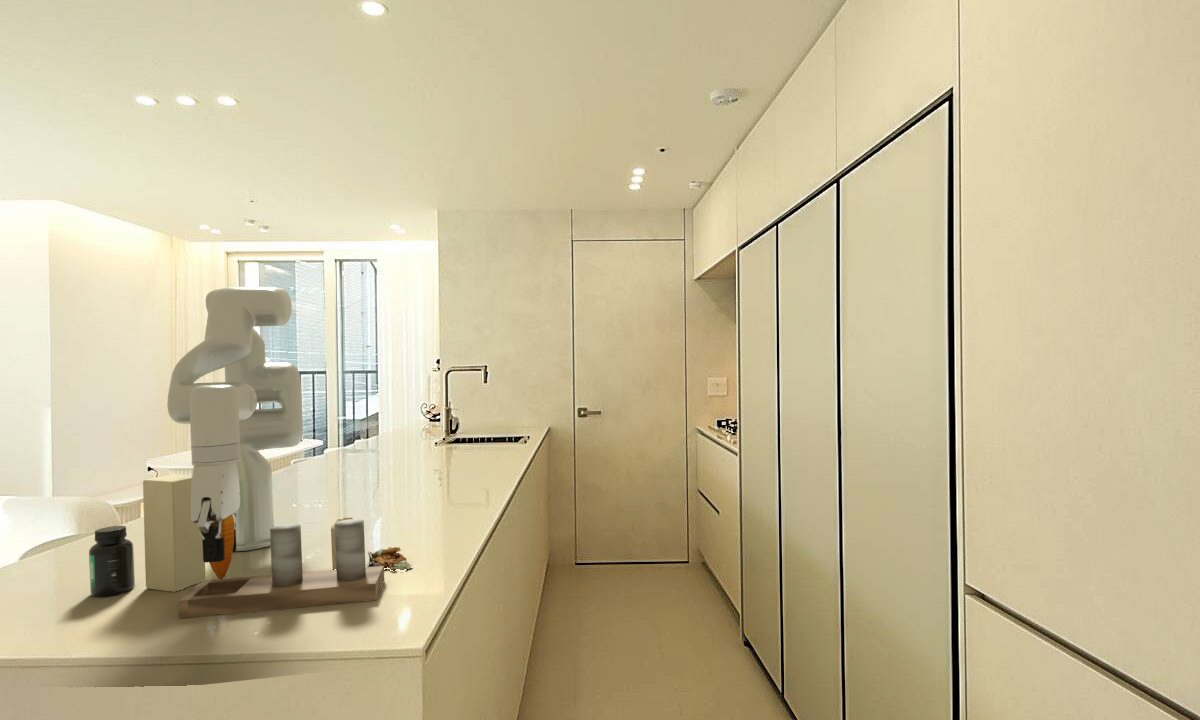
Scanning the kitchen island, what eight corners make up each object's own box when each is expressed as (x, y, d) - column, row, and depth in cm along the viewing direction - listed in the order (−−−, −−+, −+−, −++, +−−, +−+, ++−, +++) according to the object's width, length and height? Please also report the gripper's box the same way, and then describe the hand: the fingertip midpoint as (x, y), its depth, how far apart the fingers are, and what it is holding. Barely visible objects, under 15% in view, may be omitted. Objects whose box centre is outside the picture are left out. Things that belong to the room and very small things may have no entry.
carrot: (213, 575, 120) (210, 492, 120) (242, 573, 120) (238, 491, 120) (199, 584, 115) (195, 498, 115) (229, 583, 115) (225, 497, 115)
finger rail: (203, 596, 122) (200, 526, 122) (384, 581, 127) (381, 513, 127) (178, 618, 112) (175, 542, 112) (375, 600, 117) (373, 527, 117)
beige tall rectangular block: (210, 579, 131) (206, 474, 131) (175, 592, 124) (171, 481, 124) (180, 576, 134) (176, 472, 134) (145, 588, 127) (140, 480, 127)
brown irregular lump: (397, 576, 131) (396, 558, 131) (358, 567, 138) (358, 550, 137) (424, 566, 137) (423, 549, 137) (386, 557, 143) (385, 541, 143)
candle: (351, 572, 133) (349, 522, 133) (326, 571, 134) (324, 522, 134) (366, 563, 139) (364, 515, 138) (342, 562, 140) (340, 515, 140)
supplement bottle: (86, 600, 122) (84, 535, 122) (94, 589, 128) (92, 527, 128) (131, 593, 125) (129, 530, 125) (137, 582, 131) (135, 522, 131)
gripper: (212, 448, 125) (216, 544, 125) (170, 463, 108) (175, 574, 108) (255, 446, 126) (259, 541, 126) (220, 460, 110) (224, 569, 110)
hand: (220, 555), depth 117 cm, fingers closed on carrot, 4 cm apart
